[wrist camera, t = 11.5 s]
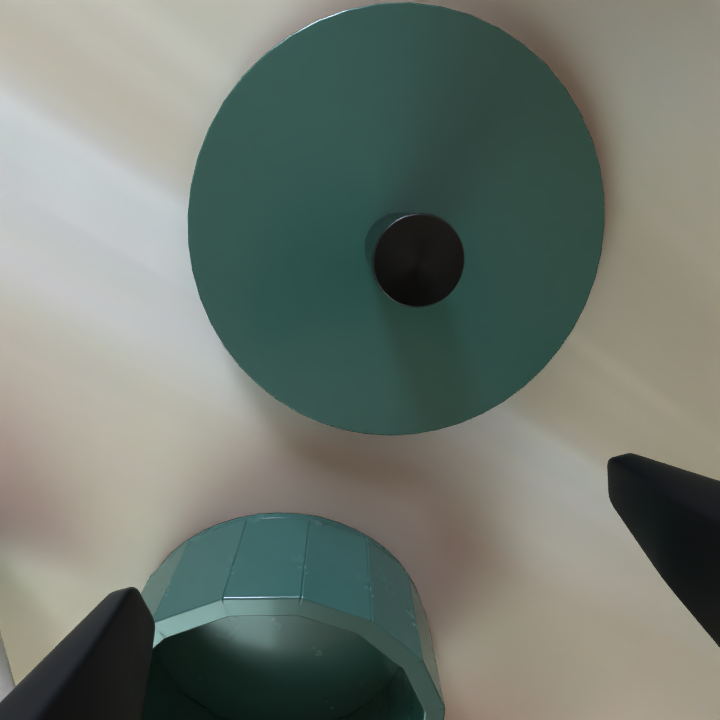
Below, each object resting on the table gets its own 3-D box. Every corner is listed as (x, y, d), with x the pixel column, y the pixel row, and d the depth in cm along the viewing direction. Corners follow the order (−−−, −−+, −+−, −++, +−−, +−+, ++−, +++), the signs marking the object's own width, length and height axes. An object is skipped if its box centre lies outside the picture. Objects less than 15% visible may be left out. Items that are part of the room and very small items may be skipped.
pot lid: (625, 23, 17) (776, -77, 11) (558, 425, 21) (638, 505, 16) (176, 5, 16) (82, -111, 10) (211, 423, 21) (160, 506, 15)
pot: (432, 511, 23) (457, 595, 18) (415, 728, 27) (431, 843, 22) (122, 513, 22) (58, 600, 17) (157, 733, 27) (115, 853, 22)
